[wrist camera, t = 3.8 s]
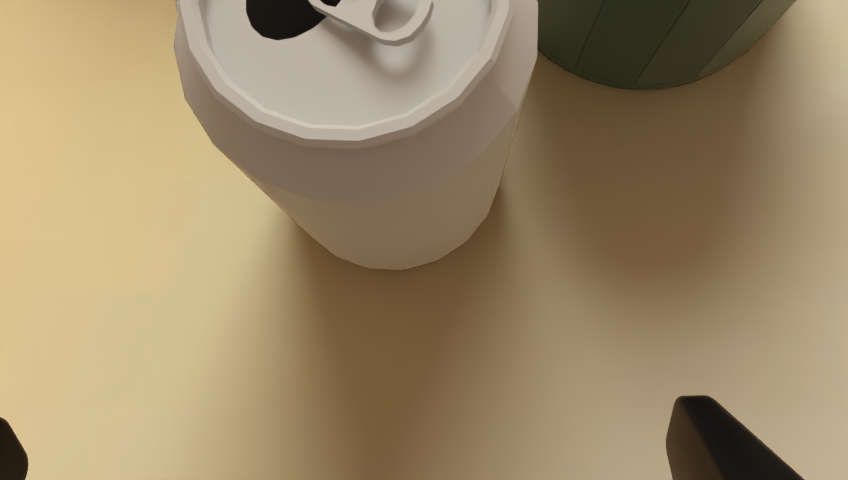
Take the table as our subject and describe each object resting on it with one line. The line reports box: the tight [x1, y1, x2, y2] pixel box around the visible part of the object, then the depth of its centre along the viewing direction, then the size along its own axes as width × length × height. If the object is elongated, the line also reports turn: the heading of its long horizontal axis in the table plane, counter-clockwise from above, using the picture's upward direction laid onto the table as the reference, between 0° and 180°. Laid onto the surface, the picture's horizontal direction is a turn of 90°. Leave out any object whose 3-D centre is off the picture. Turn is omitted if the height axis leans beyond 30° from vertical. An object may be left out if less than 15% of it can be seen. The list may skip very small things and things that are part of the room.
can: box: [174, 0, 538, 270], centre depth 18 cm, size 8×8×12 cm
